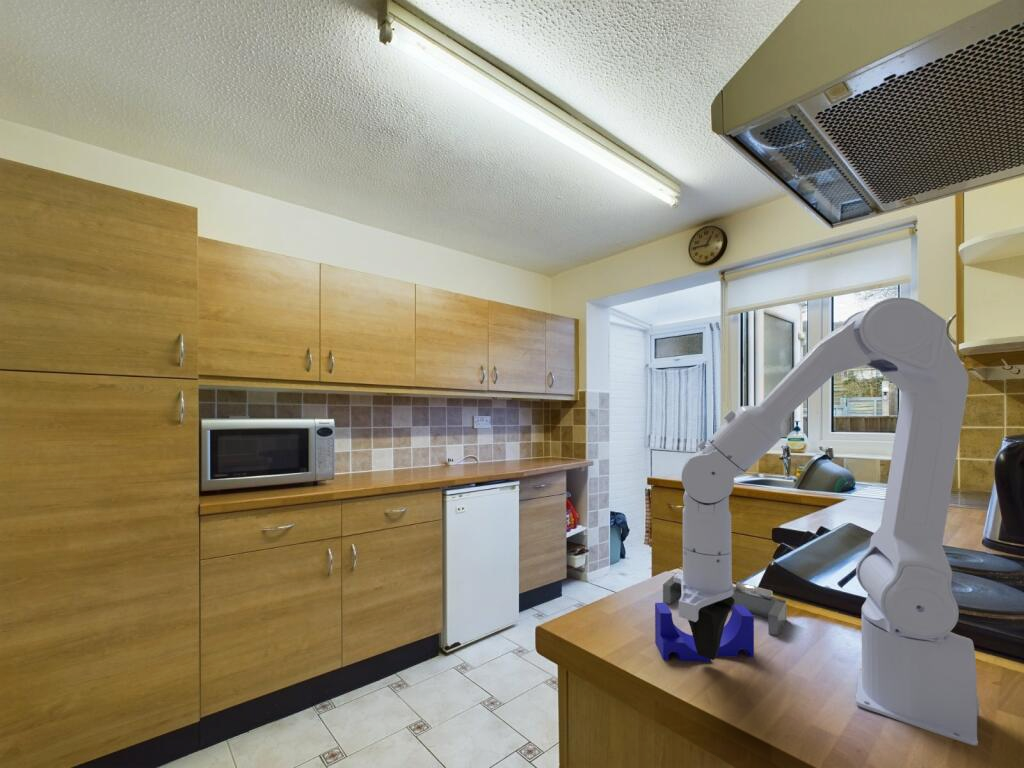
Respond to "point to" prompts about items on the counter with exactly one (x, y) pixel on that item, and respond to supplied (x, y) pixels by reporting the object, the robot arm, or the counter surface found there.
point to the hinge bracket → (744, 602)
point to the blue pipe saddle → (682, 644)
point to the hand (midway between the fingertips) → (707, 655)
